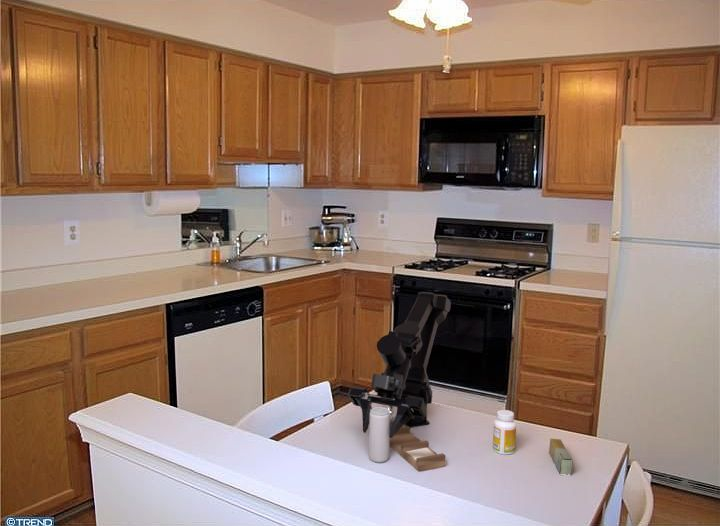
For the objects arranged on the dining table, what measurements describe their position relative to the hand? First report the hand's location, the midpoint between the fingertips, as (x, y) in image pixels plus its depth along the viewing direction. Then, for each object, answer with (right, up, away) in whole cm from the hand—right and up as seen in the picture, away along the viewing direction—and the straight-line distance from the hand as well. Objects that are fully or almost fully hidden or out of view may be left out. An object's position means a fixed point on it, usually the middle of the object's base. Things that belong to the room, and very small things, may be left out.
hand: (377, 434), depth 148 cm
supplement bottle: (+31, -6, +8) cm, 33 cm away
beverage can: (0, -7, +2) cm, 7 cm away
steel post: (+4, -3, +17) cm, 17 cm away
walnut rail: (+7, -5, +9) cm, 13 cm away
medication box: (+43, -8, +1) cm, 44 cm away
